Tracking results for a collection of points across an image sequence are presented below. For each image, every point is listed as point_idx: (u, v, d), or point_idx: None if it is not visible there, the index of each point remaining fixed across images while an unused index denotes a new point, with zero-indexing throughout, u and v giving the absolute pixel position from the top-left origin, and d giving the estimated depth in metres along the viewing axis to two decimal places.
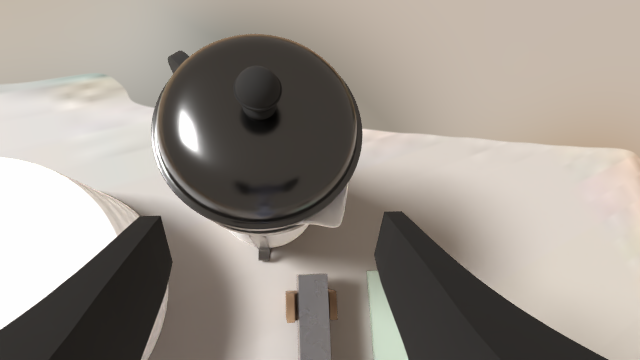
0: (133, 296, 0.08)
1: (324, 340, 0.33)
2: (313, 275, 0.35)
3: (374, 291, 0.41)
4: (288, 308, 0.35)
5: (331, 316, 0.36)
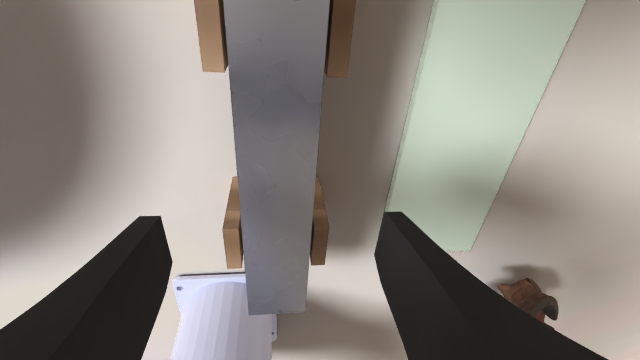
0: (133, 296, 0.08)
1: (303, 132, 0.12)
2: None
3: (449, 8, 0.16)
4: (201, 29, 0.11)
5: (331, 67, 0.13)
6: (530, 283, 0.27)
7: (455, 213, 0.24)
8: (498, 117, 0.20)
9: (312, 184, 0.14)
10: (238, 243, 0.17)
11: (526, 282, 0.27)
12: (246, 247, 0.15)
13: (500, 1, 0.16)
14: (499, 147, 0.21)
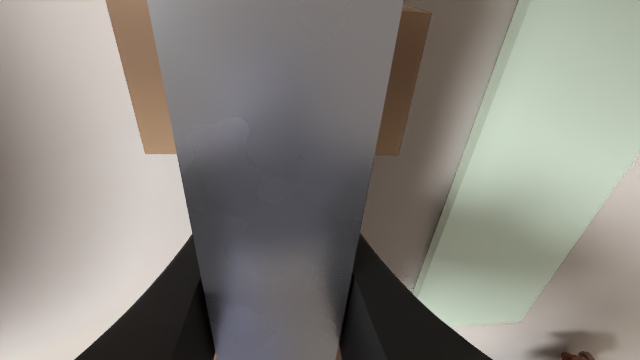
0: None
1: (326, 261, 0.07)
2: None
3: (538, 28, 0.11)
4: (135, 84, 0.06)
5: None
6: None
7: (508, 284, 0.19)
8: (582, 172, 0.14)
9: (337, 327, 0.08)
10: None
11: None
12: None
13: (614, 17, 0.11)
14: (576, 208, 0.16)
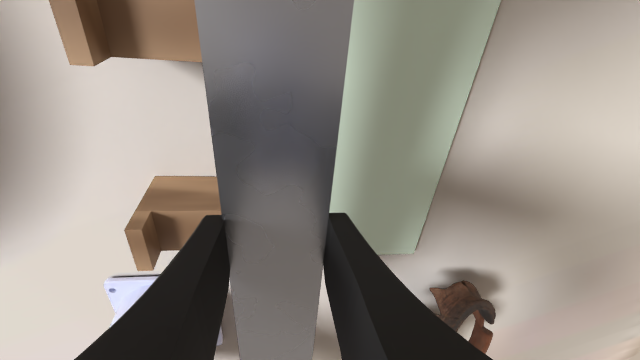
0: (212, 292, 0.08)
1: (311, 182, 0.09)
2: None
3: (359, 5, 0.16)
4: (59, 20, 0.11)
5: None
6: (465, 286, 0.26)
7: (393, 215, 0.24)
8: (425, 118, 0.19)
9: (322, 243, 0.10)
10: (144, 244, 0.17)
11: (460, 285, 0.26)
12: (238, 312, 0.12)
13: None
14: (430, 148, 0.21)
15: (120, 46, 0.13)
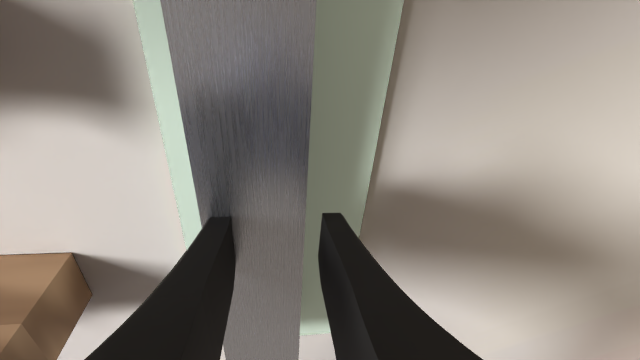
0: (218, 292, 0.08)
1: None
2: None
3: (157, 3, 0.09)
4: None
5: None
6: None
7: None
8: (317, 170, 0.13)
9: None
10: None
11: None
12: None
13: None
14: (335, 210, 0.14)
15: None
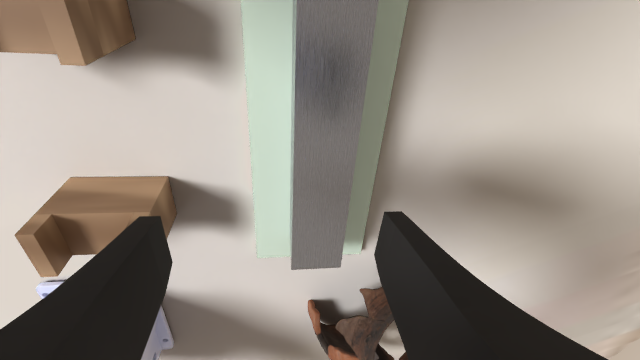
0: (133, 296, 0.08)
1: None
2: None
3: None
4: None
5: (61, 54, 0.11)
6: None
7: None
8: None
9: None
10: (40, 250, 0.16)
11: None
12: None
13: None
14: (360, 143, 0.20)
15: None
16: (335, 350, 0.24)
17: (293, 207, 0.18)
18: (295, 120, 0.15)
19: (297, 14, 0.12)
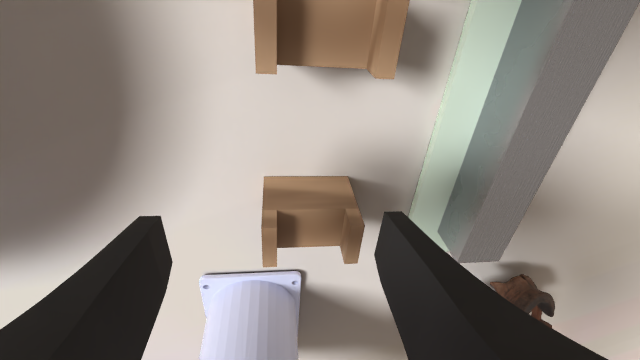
0: (133, 297, 0.08)
1: None
2: None
3: (486, 11, 0.16)
4: (258, 32, 0.12)
5: (379, 69, 0.13)
6: (524, 279, 0.27)
7: None
8: None
9: None
10: (275, 242, 0.17)
11: (520, 279, 0.27)
12: None
13: None
14: None
15: (287, 54, 0.14)
16: None
17: (482, 205, 0.19)
18: (518, 126, 0.17)
19: (558, 35, 0.14)
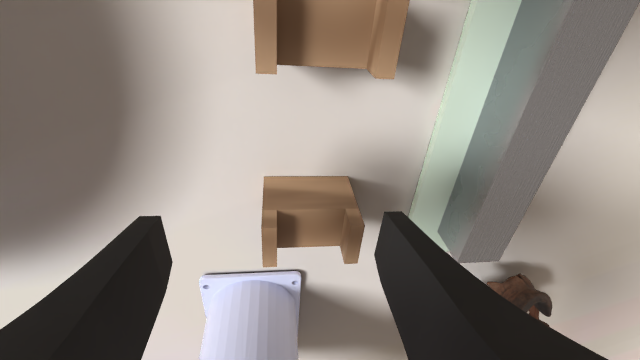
0: (133, 297, 0.08)
1: None
2: None
3: (486, 11, 0.16)
4: (258, 32, 0.12)
5: (379, 69, 0.13)
6: (521, 279, 0.27)
7: None
8: None
9: None
10: (275, 242, 0.17)
11: (517, 278, 0.26)
12: None
13: None
14: None
15: (287, 54, 0.14)
16: None
17: (482, 205, 0.19)
18: (518, 126, 0.17)
19: (558, 35, 0.14)
